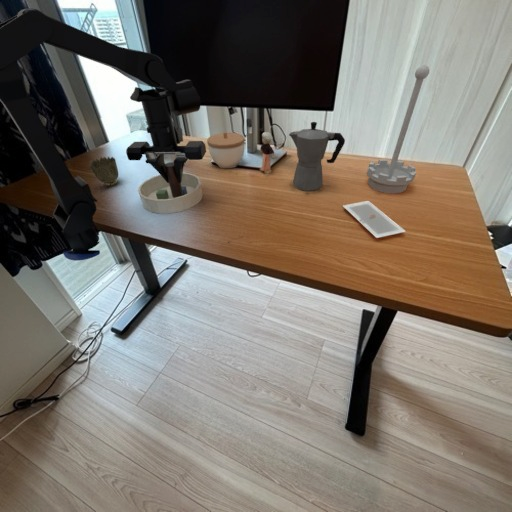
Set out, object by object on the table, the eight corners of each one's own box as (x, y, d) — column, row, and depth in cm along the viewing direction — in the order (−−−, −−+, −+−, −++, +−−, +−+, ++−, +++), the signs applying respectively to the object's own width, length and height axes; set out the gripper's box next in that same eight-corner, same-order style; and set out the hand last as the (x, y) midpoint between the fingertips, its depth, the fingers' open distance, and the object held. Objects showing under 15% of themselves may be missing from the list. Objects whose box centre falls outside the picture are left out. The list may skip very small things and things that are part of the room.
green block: (166, 201, 77) (164, 193, 75) (158, 201, 77) (155, 193, 76) (169, 197, 79) (167, 189, 77) (160, 197, 79) (158, 189, 77)
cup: (101, 182, 89) (90, 158, 84) (124, 178, 91) (115, 154, 85) (98, 192, 84) (86, 167, 78) (123, 188, 85) (113, 163, 80)
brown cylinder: (181, 198, 74) (174, 166, 68) (171, 198, 75) (162, 166, 69) (184, 193, 77) (177, 162, 71) (174, 193, 77) (166, 162, 71)
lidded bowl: (223, 175, 90) (219, 141, 83) (204, 164, 98) (199, 132, 91) (252, 164, 96) (251, 132, 89) (232, 155, 104) (229, 124, 96)
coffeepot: (283, 188, 82) (285, 125, 70) (289, 175, 89) (293, 116, 77) (334, 195, 78) (347, 129, 66) (337, 180, 85) (349, 119, 73)
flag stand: (412, 197, 76) (463, 69, 56) (363, 191, 79) (395, 68, 59) (408, 178, 85) (451, 61, 65) (365, 173, 88) (393, 61, 69)
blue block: (185, 198, 78) (183, 190, 77) (177, 198, 78) (175, 190, 77) (187, 193, 80) (185, 186, 78) (179, 193, 80) (177, 186, 79)
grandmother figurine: (254, 170, 93) (253, 131, 84) (262, 166, 95) (262, 128, 86) (270, 176, 89) (271, 136, 80) (278, 172, 91) (279, 133, 82)
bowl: (195, 215, 72) (192, 200, 69) (133, 214, 73) (127, 200, 70) (207, 185, 85) (205, 172, 82) (154, 185, 86) (150, 172, 83)
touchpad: (367, 204, 74) (369, 197, 72) (404, 235, 63) (407, 227, 62) (341, 209, 72) (343, 201, 71) (375, 241, 61) (377, 234, 60)
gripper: (205, 110, 68) (213, 169, 78) (134, 111, 69) (151, 170, 80) (195, 123, 60) (206, 187, 70) (114, 124, 61) (136, 187, 71)
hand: (174, 182), depth 73 cm, fingers closed on brown cylinder, 3 cm apart
